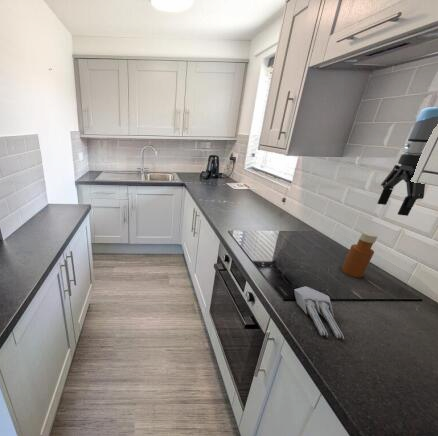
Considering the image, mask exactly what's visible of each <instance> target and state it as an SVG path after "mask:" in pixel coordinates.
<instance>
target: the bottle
mask: <svg viewBox="0 0 438 436" xmlns="http://www.w3.org/2000/svg"><path fill="white" fill-rule="evenodd" d="M373 245H374V243H368V242H365V241H362V240H360V238H358V240H357V243H356V244H355V243H354V244H351V246H350V248H349V250H348V253H347V255H346V258H345V260H344V262H343V264H342V267H341V271H342V272H343V273H344V274H346V275H349V276H351V277H354V278H362V277H363V276H364V274H365V272H366V271H367V268H368V266H369V265H370V262H371V260H372V258H373V256H374V254H375V250H373V249H372V247H373Z"/></svg>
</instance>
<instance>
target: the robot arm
mask: <svg viewBox="0 0 438 436" xmlns="http://www.w3.org/2000/svg"><path fill="white" fill-rule="evenodd" d="M414 122H415V123H414V125H413V127H412V129H411V131H410V134H409V136H408V139H407V142H406V144H404V148H403V150H402V152H403V153H402V154H400V157H399V159H398V161H397V164H394V166H393V168H392V170H391V171H390V172H389V173H388V175H387V176H386V177H385V179H383V181H382V182H381V183H380V186H381V187H382V188H383V189H382V191H381V194H380V196H379V198H378V200H377V203H376V204H377V205H383V206H386V205H387V204H388V203H389V199H390V197H391V195H392V193H393V190H394V187H396V186H397V185H398V184H399V183H400V182H402V181H404V182H405V184H406V194H407V196H405V197H404V199H403V201H402V203H401V205H400V207H399V209H398V212H397V215H398V216H405V217H408V216H409V214H410V212H411V210H412V209H413V207H414V206H415V203H416V201H417V200H423V199H424V197H425V189H426V183H425V184H421V183H414V182H411V181H410V180H411V178H412V177H413V175H414V172H415V169H416V166H417V163H418V161H419V158H420V156H421V154H422V151H423V149H424V147H425V145H426V143H427V141H428V139H429V137H430V135H431V134H432V131H433V129H434V128H435V127H436V126H437V124H438V106H432V107H426V108H423V109H421V110H420V112H419V114H418V116H417V118H416V121H414Z"/></svg>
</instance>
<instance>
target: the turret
mask: <svg viewBox="0 0 438 436" xmlns="http://www.w3.org/2000/svg"><path fill="white" fill-rule="evenodd" d="M293 290H294V291H293V292H294V297H295V301H296V304H297V305H298V306H299V308H300V309H302V311H303V312H304V313H305V315H309V317H310V318H311V320H312V321H313V323H314V325H315V327H316V329H317V332H318V333H319V335H320V336H321V337H326V338H329V333H328V331H327V329H326V327H325V325H324V324H323V321H322V320H321V318H320V315H321V317H322V318H323V319H324V320H325V321H326V323H327V324H328V326H329V328H330V329H331V332H332V334H333V335H334V336H335V338H336V339H342V340H345V337H344V334H343V332H342V331H341V329H340V327H339V326H338V324H337V322H336V320H335V315H334V311H333V306H332V303H331V298H330V296H329V295H327V294H325V293H324V292H321V291H318V290H316V289H314V288H312V287H308V286H307V285H305V286H302V287H298V288H295V289H293ZM319 314H320V315H319Z"/></svg>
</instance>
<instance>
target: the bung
mask: <svg viewBox="0 0 438 436" xmlns="http://www.w3.org/2000/svg"><path fill="white" fill-rule="evenodd" d="M378 237H379V235H378V234H377V233H374V232H372V231H365V230H364V231H361V234H360V236H359V239H360V240H362V241H365V242H368V243H373V244H375V243H376V241H377V239H378Z"/></svg>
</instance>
